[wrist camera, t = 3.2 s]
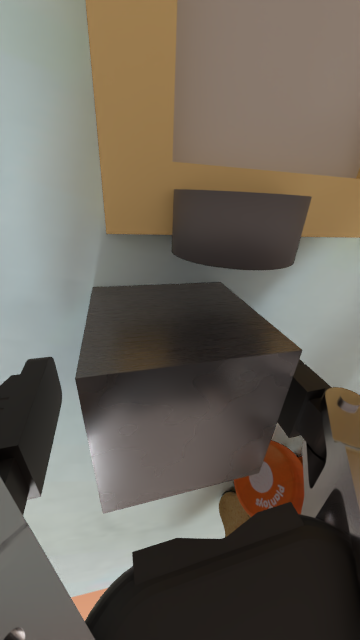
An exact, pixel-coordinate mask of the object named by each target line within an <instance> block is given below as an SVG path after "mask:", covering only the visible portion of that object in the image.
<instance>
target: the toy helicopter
mask: <svg viewBox="0 0 360 640" xmlns="http://www.w3.org/2000/svg"><path fill="white" fill-rule="evenodd" d="M234 485H235V490H236V492H226V493H225V494H224V495H223V496H222V497H221V499H220V503H219V513H220V516H221V519H222V522H223V525H224V528H225V537H227V536H228V535H229V534H231V533H232V532H233V531H234V530H236V529H237V528H238V527H239V526H241V525H242V524H243V523H244V522H246V521H247V520H248V519H249V518H251V517H252V516H253V515H254V514H256V513H257V512H260V511H263V510H266V509H269V508H273V507H276V506H279V505H282V504H285V503H288V502H292V504H293V506H294V508H295V509H296V511H297V513H298V514H301V510H302V506H303V501H304V476H303V456H302V457H297V456H296V455H295V454H294V453H293V452H292V451H291V450H290V449H288V448H287V447H285V446H284V445H282V444H279V443H277V442H275V441H272V440H271V441H270V444H269V447H268V449H267V452H266V455H265V458H264V461H263V464H262V466H261V469H260V472H259V473H258V474H254V475H250V476H246V477H242V478H238V479H235V480H234Z"/></svg>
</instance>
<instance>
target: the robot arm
mask: <svg viewBox="0 0 360 640" xmlns="http://www.w3.org/2000/svg"><path fill="white" fill-rule="evenodd" d="M61 403H62V390H61V385H60V382H59V378H58V374H57V370H56V366H55V362H54V359H53V358H52V357H44V358H35V359H28V360H27V362H26V364H25V366H24V368H23V370H22V372H21V374H19V375H12V376H10V377H9V378H8V379H7V380H6V381H5V382H4V383H3V384H2V385H0V640H360V395H358V394H357V393H355V392H353V391H350V390H347V389H344V388H338V387H333V388H332V387H330V386H329V385H328V384H327V383H326V382H325V381H324V380H323V379H321V378H320V377H319V376H318V375H317V374H316V373H315V372H314V371H312V370H311V369H310V368H309V367H308V366H307V365H306V364H305V365H304V363H303V362H302V361H301V360H300V359H299V361H298V364H297V367H296V370H295V373H294V375H293V378H292V381H291V384H290V387H289V390H288V392H287V395H286V398H285V401H284V404H283V407H282V410H281V412H280V415H279V418H278V421H277V422H278V424H279V425H280V426H281V428H282V429H283V430H284V432H285V433H286V435H287V436H288V437H289V438H291V437H295V436H299V435H301V436H302V437H303V438H304V441H303V443H302V456H303V476H304V501H303V506H302V510H301V514H298V513H297V511H296V509H295V508H294V506H293V504H292V502H288V503H285V504H282V505H279V506H276V507H273V508H269V509H266V510H263V511H260V512H257V513H256V514H254V515H253V516H252V517H251V518H249V519H248V520H247V521H246V522H244V523H243V524H242V525H241V526H239V527H238V528H237V529H236V530H234V531H233V532H232V533H231V534H229V535H228V536H227V537H225V538H223V539H194V538H175V539H172V540H169V541H166V542H163V543H160V544H157V545H153V546H150V547H147V548H144V549H141V550H138V551H135V552H132V554H133V566H132V567H131V568H130V569H128V570H127V571H126V572H124V573H123V574H122V575H121V576H120V577H119V578H118V579H116V580H115V581H114V582H113V583H112V584H111V585H110V587H109V588H108V589H107V590H106V591H105V592H104V594H103V595H102V596H101V597H100V599H99V600H98V602H97V603H96V604H95V606H94V607H93V609H92V610H91V612H90V613H89V615H88V617H87V619H86V620H85V621H84V620H83V618H82V616H81V615H80V613H79V611H78V609H77V608H76V606H75V604H74V603H73V601H72V599H71V597H70V596H69V594H68V592H67V590H66V589H65V587H64V585H63V583H62V582H61V580H60V578H59V577H58V575H57V573H56V571H55V570H54V568H53V566H52V564H51V563H50V561H49V559H48V558H47V556H46V554H45V552H44V551H43V549H42V547H41V545H40V544H39V542H38V540H37V539H36V537H35V535H34V533H33V532H32V530H31V528H30V527H29V525H28V523H27V522H26V520H25V519H24V517H23V513H24V509H25V506H26V502H27V500H28V499H32V498H37V497H41V493H42V489H43V484H44V480H45V475H46V471H47V466H48V462H49V457H50V453H51V448H52V444H53V439H54V435H55V431H56V426H57V422H58V417H59V413H60V408H61Z"/></svg>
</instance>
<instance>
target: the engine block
mask: <svg viewBox="0 0 360 640" xmlns="http://www.w3.org/2000/svg"><path fill="white" fill-rule="evenodd" d="M301 353H302V349H300V348H299V347H298V346H297V345H296V344H294V343H293V342H292V341H291V340H290V339H288V338H287V337H286V336H285V335H284V334H282V333H281V332H280V331H279V330H278V329H276V328H275V327H274V326H273V325H271V324H270V323H269V322H268V321H267V320H265V319H264V318H263V317H262V316H261V315H259V314H258V313H257V312H256V311H255V310H253V309H252V308H251V307H250V306H249V305H247V304H246V303H245V302H244V301H243V300H241V299H240V298H239V297H238V296H237V295H235V294H234V293H233V292H232V291H230V290H229V289H228V288H227V287H226V286H224V285H223V284H222V283H221V282H211V283H185V284H160V285H134V286H109V287H93V288H92V294H91V299H90V304H89V309H88V314H87V320H86V325H85V330H84V335H83V340H82V346H81V351H80V356H79V361H78V366H77V372H76V377H75V380H76V385H77V390H78V395H79V399H80V404H81V409H82V414H83V419H84V424H85V429H86V433H87V438H88V443H89V448H90V453H91V458H92V463H93V468H94V472H95V477H96V482H97V487H98V492H99V497H100V502H101V506H102V511H103V514H104V513H108V512H112V511H115V510H119V509H123V508H127V507H131V506H135V505H139V504H142V503H146V502H150V501H154V500H158V499H162V498H165V497H169V496H173V495H177V494H181V493H185V492H188V491H192V490H196V489H200V488H204V487H208V486H212V485H215V484H219V483H223V482H227V481H231V480H235V479H238V478H242V477H246V476H250V475H254V474H258V473H259V472H260V469H261V466H262V464H263V461H264V458H265V455H266V452H267V449H268V447H269V444H270V441H271V438H272V435H273V432H274V429H275V427H276V424H277V421H278V418H279V415H280V412H281V410H282V407H283V404H284V401H285V398H286V395H287V392H288V390H289V387H290V384H291V381H292V378H293V375H294V373H295V370H296V367H297V364H298V361H299V358H300V355H301Z"/></svg>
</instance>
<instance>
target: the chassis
mask: <svg viewBox="0 0 360 640" xmlns="http://www.w3.org/2000/svg"><path fill="white" fill-rule="evenodd" d="M86 10H87V21H88V33H89V44H90V55H91V66H92V77H93V88H94V99H95V111H96V122H97V133H98V144H99V155H100V166H101V177H102V189H103V200H104V211H105V222H106V233H107V234H153V235H172V253H173V254H174V255H176V256H177V257H179V258H182V259H184V260H187V261H190V262H194V263H198V264H202V265H207V266H213V267H220V268H228V269H240V270H273V269H281V268H286V267H289V266H291V265H292V264H293V263H294V260H295V256H296V253H297V249H298V246H299V242H300V238H301V237H359V238H360V0H86Z"/></svg>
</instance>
